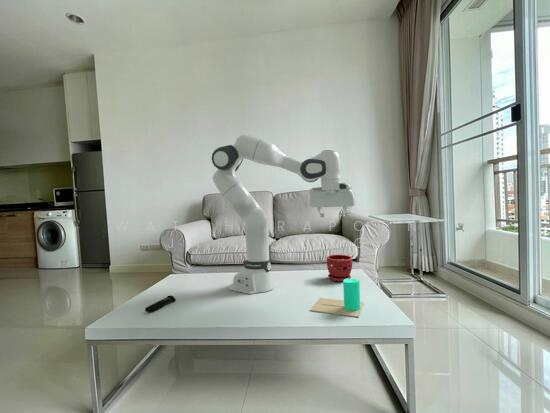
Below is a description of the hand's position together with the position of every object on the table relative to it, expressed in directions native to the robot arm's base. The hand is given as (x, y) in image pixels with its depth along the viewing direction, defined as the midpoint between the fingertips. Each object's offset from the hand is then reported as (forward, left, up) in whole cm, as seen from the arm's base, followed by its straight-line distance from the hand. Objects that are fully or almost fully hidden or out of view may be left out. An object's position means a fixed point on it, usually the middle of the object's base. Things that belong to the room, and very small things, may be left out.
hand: (332, 217), depth 127 cm
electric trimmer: (-65, -40, -35) cm, 84 cm away
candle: (+11, -18, -34) cm, 40 cm away
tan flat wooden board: (+5, -18, -34) cm, 39 cm away
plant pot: (-2, +20, -34) cm, 40 cm away
